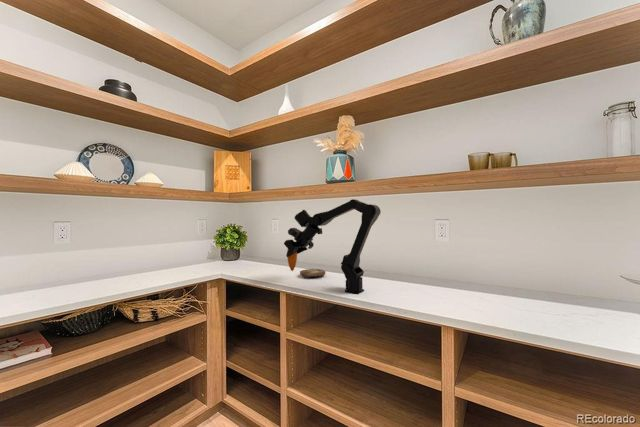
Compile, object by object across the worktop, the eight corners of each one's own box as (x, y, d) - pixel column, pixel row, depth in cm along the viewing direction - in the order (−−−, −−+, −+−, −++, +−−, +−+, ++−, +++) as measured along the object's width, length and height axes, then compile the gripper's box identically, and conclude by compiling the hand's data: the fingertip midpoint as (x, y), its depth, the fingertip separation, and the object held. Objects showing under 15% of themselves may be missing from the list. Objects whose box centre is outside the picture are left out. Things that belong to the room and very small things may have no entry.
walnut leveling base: (330, 275, 148) (330, 270, 148) (315, 280, 137) (315, 275, 137) (310, 272, 156) (310, 267, 156) (294, 276, 145) (294, 271, 145)
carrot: (297, 270, 135) (297, 240, 136) (296, 272, 130) (296, 241, 131) (287, 270, 135) (287, 240, 136) (286, 272, 130) (286, 241, 131)
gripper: (308, 221, 139) (291, 242, 145) (286, 222, 123) (268, 245, 128) (321, 237, 136) (303, 257, 141) (301, 240, 119) (281, 263, 124)
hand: (289, 255), depth 134 cm, fingers closed on carrot, 5 cm apart
